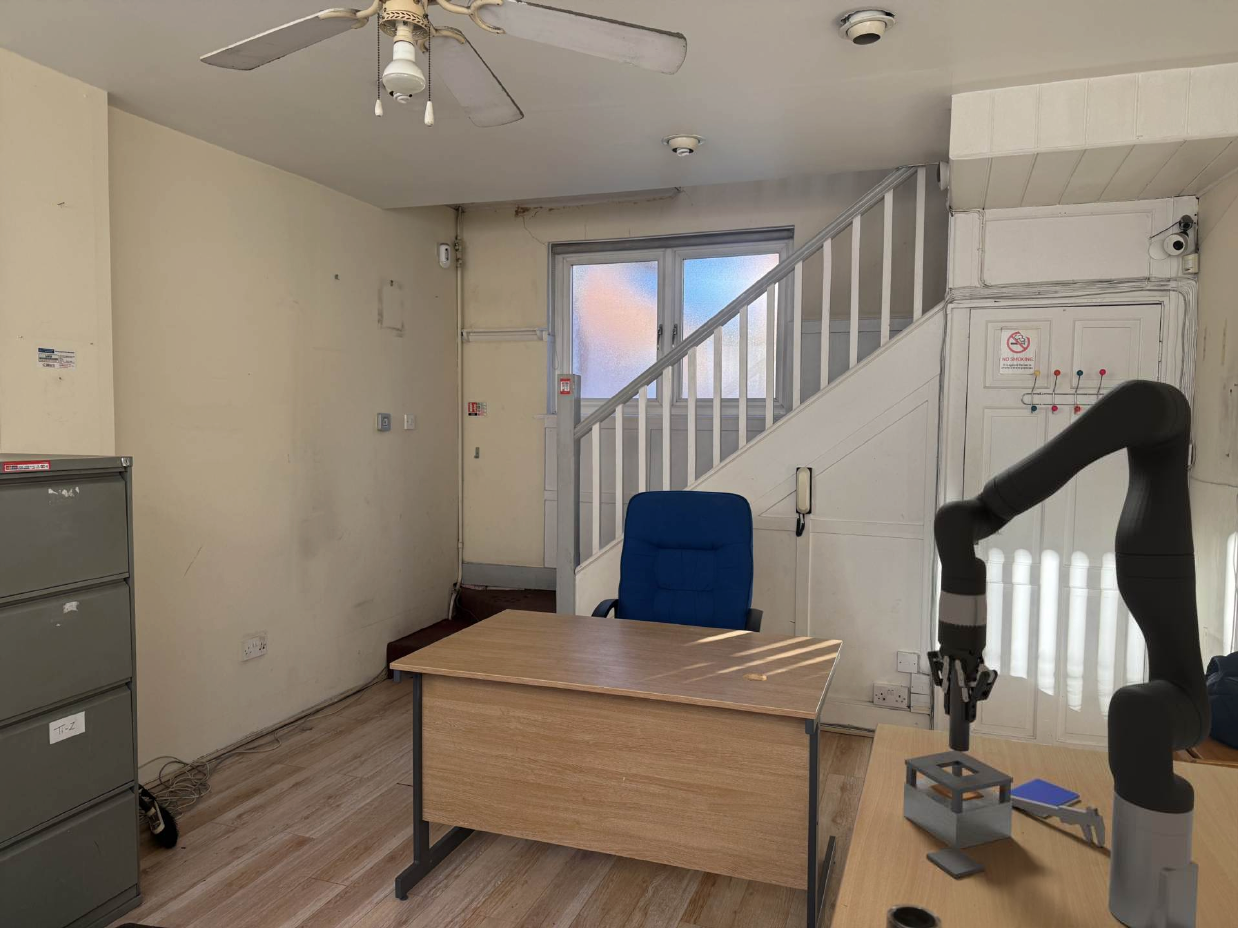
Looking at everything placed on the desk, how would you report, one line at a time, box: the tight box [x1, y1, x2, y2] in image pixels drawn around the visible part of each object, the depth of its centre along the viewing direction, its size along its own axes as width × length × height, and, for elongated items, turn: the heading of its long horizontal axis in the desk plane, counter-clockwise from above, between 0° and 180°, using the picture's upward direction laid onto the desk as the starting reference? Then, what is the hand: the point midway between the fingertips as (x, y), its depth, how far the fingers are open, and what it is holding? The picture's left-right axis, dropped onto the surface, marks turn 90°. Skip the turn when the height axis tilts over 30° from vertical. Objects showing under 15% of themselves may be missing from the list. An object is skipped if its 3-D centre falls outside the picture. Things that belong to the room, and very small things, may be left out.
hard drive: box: [1011, 778, 1081, 819], centre depth 144 cm, size 2×8×12 cm
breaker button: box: [932, 784, 982, 801], centre depth 135 cm, size 6×6×5 cm
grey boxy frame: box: [902, 750, 1014, 850], centre depth 134 cm, size 12×12×10 cm
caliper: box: [995, 791, 1106, 848], centre depth 137 cm, size 20×1×6 cm, turn 31°
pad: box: [925, 847, 986, 879], centre depth 123 cm, size 6×6×1 cm
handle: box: [948, 661, 971, 753], centre depth 133 cm, size 3×3×15 cm
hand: (959, 717), depth 134 cm, fingers closed on handle, 3 cm apart
